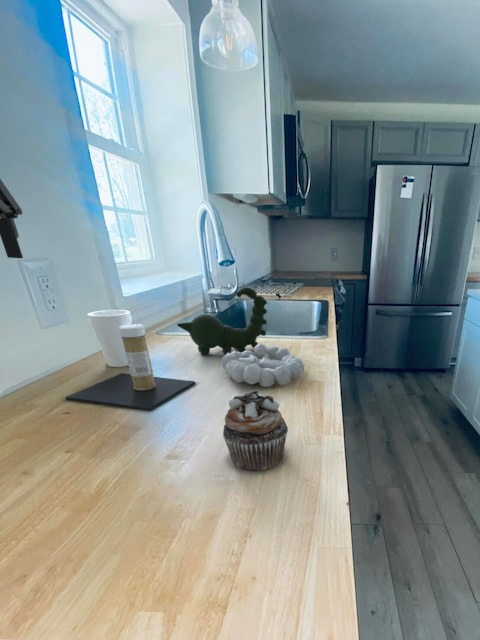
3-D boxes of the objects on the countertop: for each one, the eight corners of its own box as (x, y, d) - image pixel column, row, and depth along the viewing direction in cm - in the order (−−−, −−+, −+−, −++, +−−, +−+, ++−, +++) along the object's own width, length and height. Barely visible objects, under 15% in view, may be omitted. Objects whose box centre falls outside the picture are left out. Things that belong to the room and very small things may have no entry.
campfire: (324, 373, 93) (324, 350, 90) (269, 398, 77) (268, 372, 75) (260, 358, 104) (258, 337, 101) (200, 378, 88) (197, 354, 85)
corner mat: (66, 399, 75) (65, 396, 75) (122, 375, 89) (121, 373, 89) (149, 411, 71) (149, 408, 71) (195, 383, 85) (195, 381, 84)
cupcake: (212, 461, 55) (203, 400, 51) (256, 436, 63) (252, 381, 58) (259, 482, 51) (253, 417, 46) (301, 453, 58) (300, 394, 53)
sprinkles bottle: (157, 383, 83) (145, 322, 76) (154, 390, 79) (141, 327, 72) (135, 385, 81) (121, 323, 75) (131, 392, 78) (115, 328, 71)
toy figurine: (259, 349, 118) (177, 350, 107) (260, 287, 110) (172, 281, 99) (269, 357, 111) (181, 359, 100) (271, 290, 103) (176, 284, 92)
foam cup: (93, 366, 95) (78, 314, 89) (121, 357, 102) (109, 308, 96) (122, 370, 92) (108, 317, 86) (148, 360, 100) (138, 311, 94)
